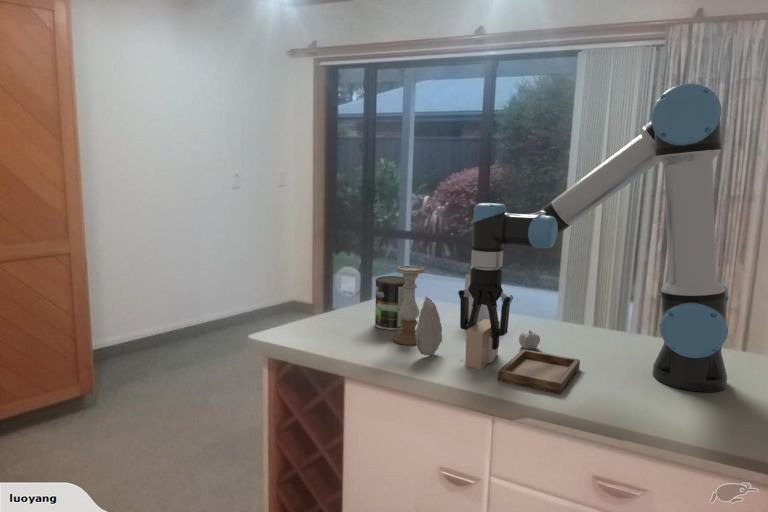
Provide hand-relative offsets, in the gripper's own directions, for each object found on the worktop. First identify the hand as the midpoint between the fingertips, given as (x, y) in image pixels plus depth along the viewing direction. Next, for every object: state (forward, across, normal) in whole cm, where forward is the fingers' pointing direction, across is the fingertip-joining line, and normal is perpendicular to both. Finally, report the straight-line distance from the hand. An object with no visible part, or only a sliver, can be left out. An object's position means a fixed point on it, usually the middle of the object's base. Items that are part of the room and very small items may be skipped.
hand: (482, 359), depth 144 cm
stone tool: (+1, +13, +4) cm, 14 cm away
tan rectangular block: (0, 0, 0) cm, 0 cm away
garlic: (+1, -7, -16) cm, 18 cm away
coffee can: (+1, +34, -14) cm, 37 cm away
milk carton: (+1, +14, -33) cm, 36 cm away
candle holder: (+1, +23, -4) cm, 23 cm away
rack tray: (0, -15, +2) cm, 15 cm away
